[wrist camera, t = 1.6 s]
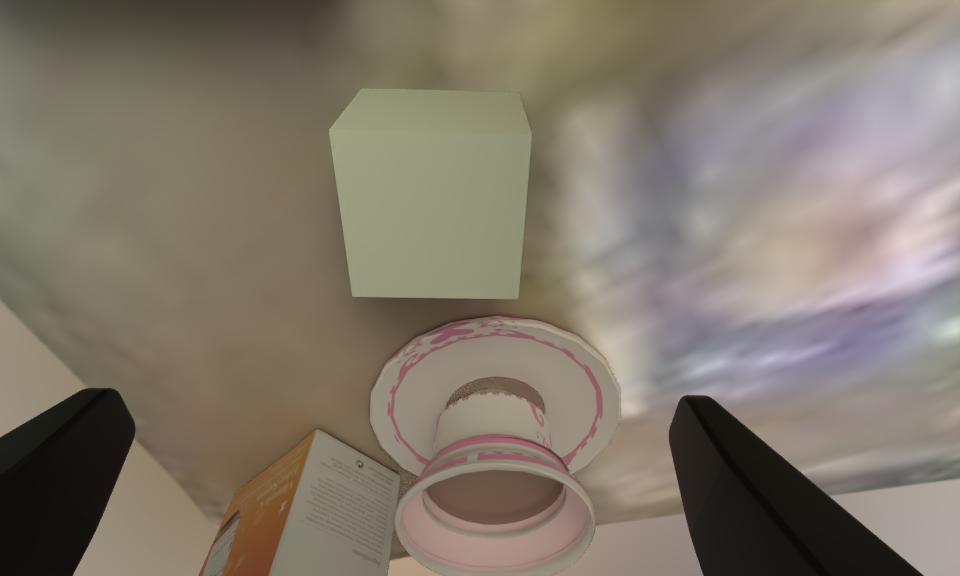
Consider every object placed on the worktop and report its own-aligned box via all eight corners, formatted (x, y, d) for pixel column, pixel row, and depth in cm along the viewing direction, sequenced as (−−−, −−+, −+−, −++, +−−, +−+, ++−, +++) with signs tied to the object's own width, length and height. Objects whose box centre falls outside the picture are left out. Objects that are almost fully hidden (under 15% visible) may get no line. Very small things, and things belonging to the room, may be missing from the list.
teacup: (325, 352, 22) (281, 473, 17) (591, 278, 20) (631, 390, 15) (426, 502, 29) (416, 623, 24) (637, 458, 27) (675, 579, 22)
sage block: (518, 91, 16) (532, 134, 13) (509, 230, 19) (518, 299, 15) (362, 87, 16) (328, 129, 12) (376, 227, 19) (352, 296, 15)
